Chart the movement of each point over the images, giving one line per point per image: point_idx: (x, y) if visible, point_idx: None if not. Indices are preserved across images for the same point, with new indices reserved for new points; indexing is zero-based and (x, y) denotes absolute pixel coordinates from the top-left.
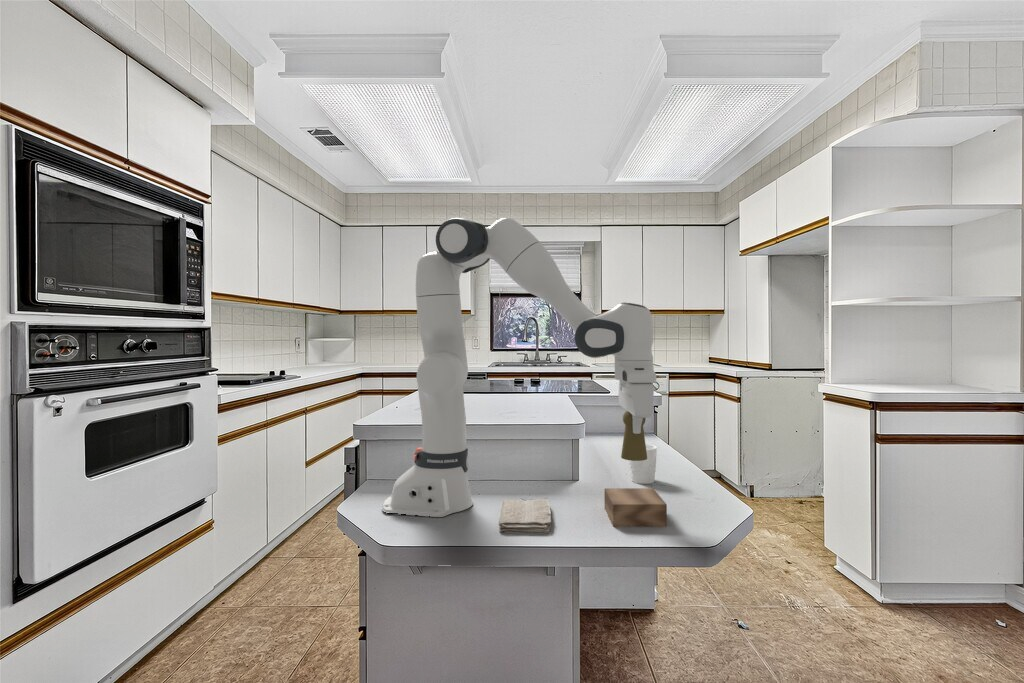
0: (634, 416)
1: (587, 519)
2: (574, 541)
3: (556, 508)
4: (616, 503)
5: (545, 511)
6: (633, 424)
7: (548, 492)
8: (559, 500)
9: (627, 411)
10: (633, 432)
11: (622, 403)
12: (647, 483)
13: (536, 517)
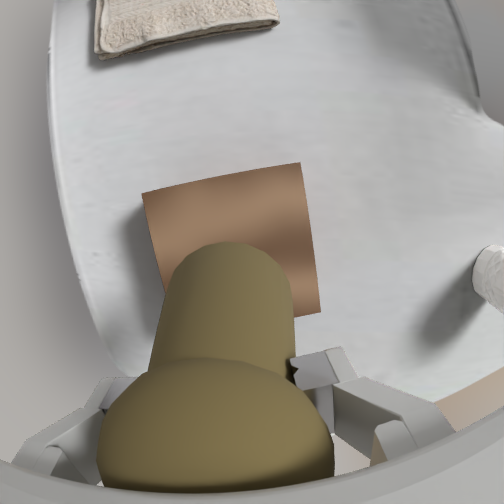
0: (20, 462)
1: (197, 124)
2: (69, 119)
3: (267, 45)
4: (151, 203)
5: (169, 26)
6: (69, 416)
7: (387, 32)
8: (333, 51)
9: (221, 487)
10: (104, 379)
11: (495, 468)
12: (472, 280)
13: (128, 20)
